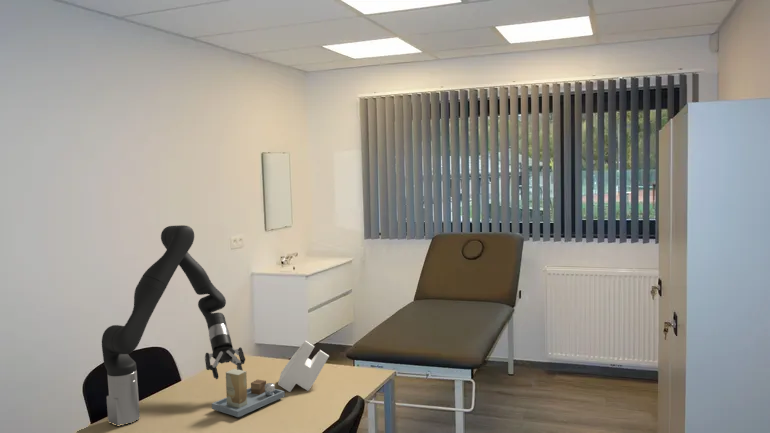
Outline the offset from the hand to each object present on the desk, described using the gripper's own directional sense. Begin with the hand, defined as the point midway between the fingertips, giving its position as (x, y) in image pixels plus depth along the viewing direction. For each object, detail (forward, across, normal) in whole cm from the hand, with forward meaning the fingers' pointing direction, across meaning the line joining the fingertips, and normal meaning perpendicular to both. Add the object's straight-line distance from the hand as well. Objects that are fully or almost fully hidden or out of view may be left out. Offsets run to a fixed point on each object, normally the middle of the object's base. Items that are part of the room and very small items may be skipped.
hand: (228, 376), depth 222 cm
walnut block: (+7, +10, +3) cm, 13 cm away
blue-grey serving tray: (+13, +5, 0) cm, 13 cm away
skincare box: (+13, 0, -2) cm, 13 cm away
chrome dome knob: (+11, +13, -1) cm, 17 cm away
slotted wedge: (+7, +30, +6) cm, 31 cm away
